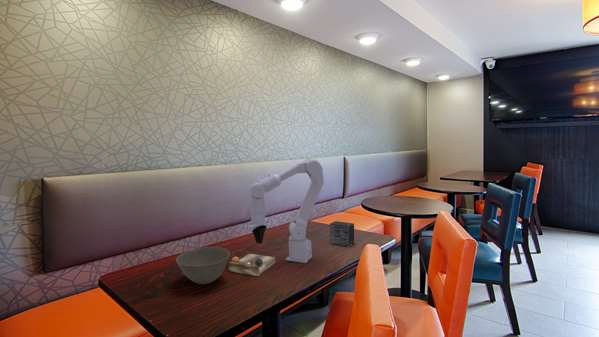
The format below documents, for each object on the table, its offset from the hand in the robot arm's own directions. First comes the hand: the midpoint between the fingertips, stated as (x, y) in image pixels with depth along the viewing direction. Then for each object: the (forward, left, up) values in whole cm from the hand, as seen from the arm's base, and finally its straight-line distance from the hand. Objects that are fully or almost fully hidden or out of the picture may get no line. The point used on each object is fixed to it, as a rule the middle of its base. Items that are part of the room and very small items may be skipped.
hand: (259, 243), depth 134 cm
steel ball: (0, +9, -6) cm, 11 cm away
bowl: (+9, +24, -8) cm, 27 cm away
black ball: (-5, +9, -5) cm, 11 cm away
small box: (-27, -35, -8) cm, 45 cm away
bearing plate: (0, +6, -8) cm, 10 cm away
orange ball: (+5, +11, -5) cm, 13 cm away
